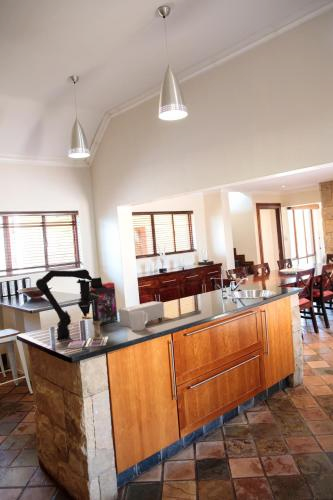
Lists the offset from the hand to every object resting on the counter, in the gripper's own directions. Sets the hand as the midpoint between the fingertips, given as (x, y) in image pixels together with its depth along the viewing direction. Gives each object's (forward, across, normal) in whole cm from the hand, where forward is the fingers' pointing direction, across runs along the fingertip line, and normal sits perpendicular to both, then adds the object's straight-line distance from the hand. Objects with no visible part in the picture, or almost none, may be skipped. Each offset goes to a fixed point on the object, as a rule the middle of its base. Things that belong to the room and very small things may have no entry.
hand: (86, 315), depth 228 cm
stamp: (+12, -13, -8) cm, 19 cm away
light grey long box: (+12, +28, -33) cm, 45 cm away
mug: (+12, +3, -32) cm, 34 cm away
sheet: (+12, -18, -8) cm, 23 cm away
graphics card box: (+12, +30, -7) cm, 33 cm away
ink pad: (+12, -23, +3) cm, 26 cm away
